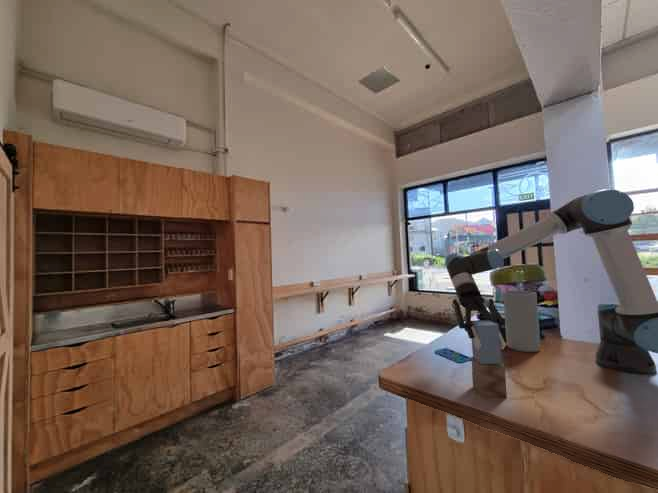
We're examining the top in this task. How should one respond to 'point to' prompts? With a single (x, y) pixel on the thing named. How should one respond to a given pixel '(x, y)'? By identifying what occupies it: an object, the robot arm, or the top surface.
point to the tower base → (489, 388)
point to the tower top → (488, 371)
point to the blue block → (487, 342)
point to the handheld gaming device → (453, 355)
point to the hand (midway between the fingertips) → (491, 347)
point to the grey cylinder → (521, 320)
